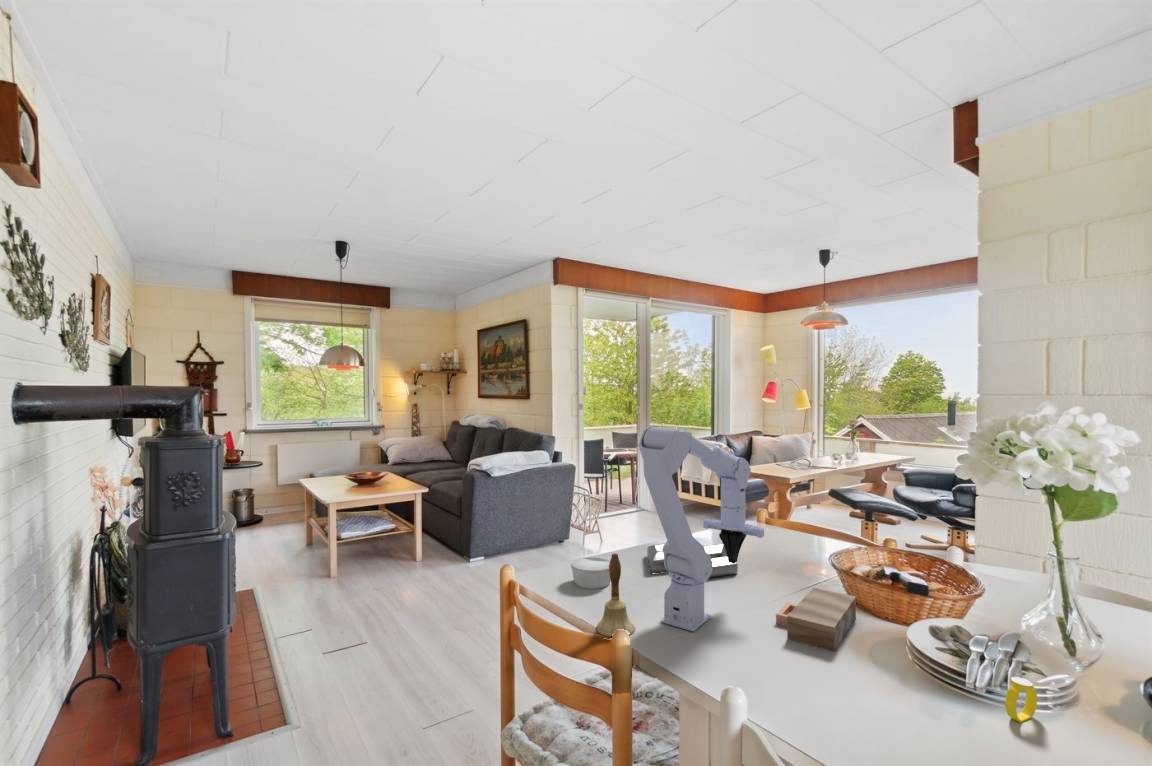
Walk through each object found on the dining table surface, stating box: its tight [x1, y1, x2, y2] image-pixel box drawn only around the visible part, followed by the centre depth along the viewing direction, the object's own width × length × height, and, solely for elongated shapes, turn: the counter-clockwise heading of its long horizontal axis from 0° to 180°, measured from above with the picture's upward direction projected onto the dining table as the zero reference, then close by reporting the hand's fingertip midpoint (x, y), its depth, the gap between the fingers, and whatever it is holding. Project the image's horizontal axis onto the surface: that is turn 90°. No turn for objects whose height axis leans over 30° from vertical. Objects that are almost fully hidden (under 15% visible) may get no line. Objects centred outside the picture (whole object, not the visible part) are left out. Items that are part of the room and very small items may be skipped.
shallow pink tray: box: [775, 602, 798, 627], centre depth 121 cm, size 8×12×2 cm, turn 52°
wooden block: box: [786, 587, 857, 652], centre depth 119 cm, size 20×9×5 cm, turn 142°
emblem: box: [646, 543, 739, 579], centre depth 160 cm, size 28×5×28 cm
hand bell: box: [595, 553, 636, 638], centre depth 118 cm, size 8×8×16 cm
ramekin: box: [570, 556, 611, 590], centre depth 146 cm, size 11×11×5 cm
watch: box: [1004, 676, 1038, 723], centre depth 87 cm, size 6×3×6 cm, turn 114°
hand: (732, 562), depth 133 cm, fingers closed
